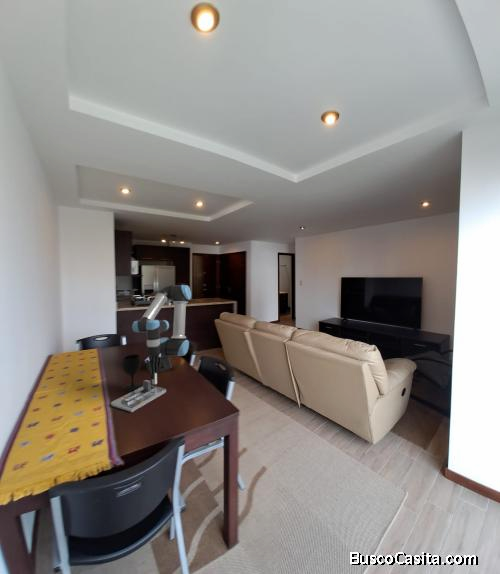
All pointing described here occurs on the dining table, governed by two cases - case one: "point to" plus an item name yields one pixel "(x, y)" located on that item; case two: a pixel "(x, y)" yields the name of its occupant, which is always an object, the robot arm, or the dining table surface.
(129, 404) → the console
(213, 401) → the dining table surface
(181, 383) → the dining table surface
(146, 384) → the fader knob
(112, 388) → the dining table surface
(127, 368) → the wine glass
